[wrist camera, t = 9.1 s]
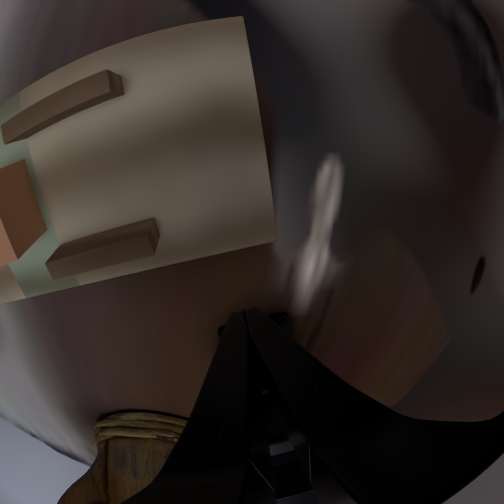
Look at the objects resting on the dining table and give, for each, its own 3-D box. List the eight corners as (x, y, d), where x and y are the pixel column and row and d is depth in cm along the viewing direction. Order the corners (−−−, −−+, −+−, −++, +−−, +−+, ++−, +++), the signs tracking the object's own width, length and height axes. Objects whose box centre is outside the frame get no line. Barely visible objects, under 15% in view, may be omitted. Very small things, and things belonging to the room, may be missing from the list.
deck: (267, 222, 20) (289, 259, 15) (-7, 291, 18) (-32, 325, 13) (235, 30, 13) (250, 0, 9) (-54, 165, 11) (-90, 183, 6)
